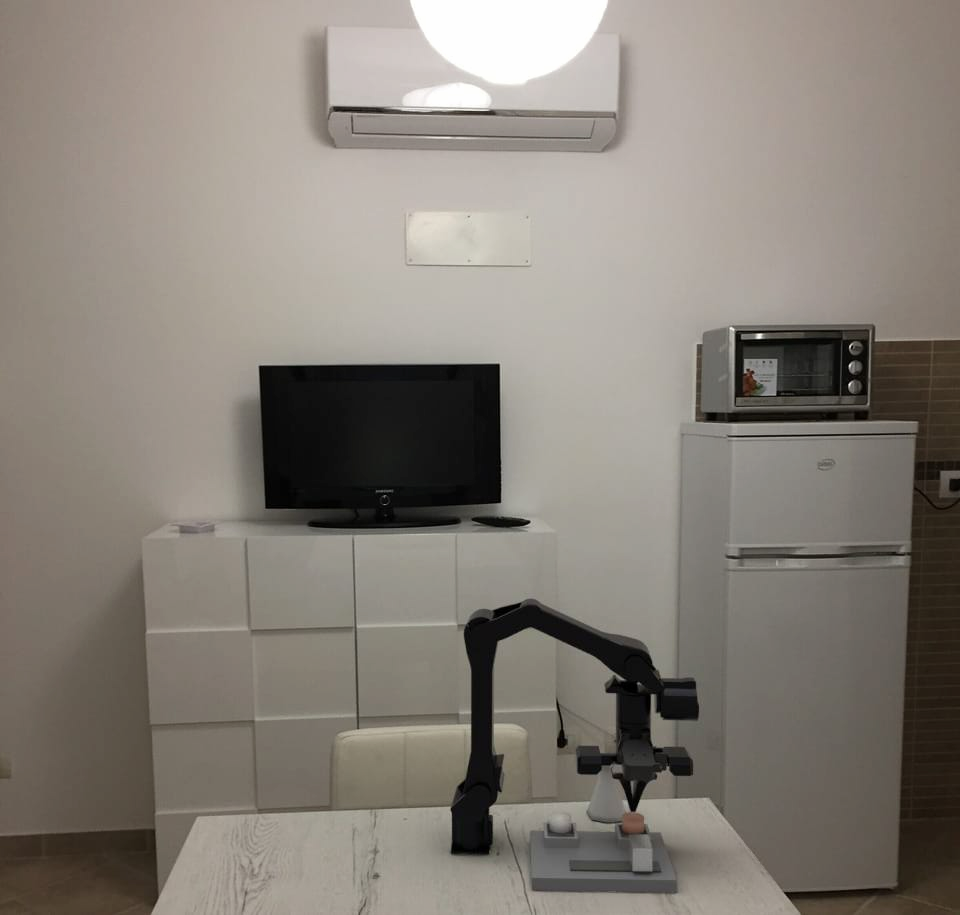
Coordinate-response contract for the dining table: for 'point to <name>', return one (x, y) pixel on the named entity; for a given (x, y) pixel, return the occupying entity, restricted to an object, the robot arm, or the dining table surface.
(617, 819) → the flask
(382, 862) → the dining table surface
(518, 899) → the dining table surface
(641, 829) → the terracotta button
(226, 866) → the dining table surface
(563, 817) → the grey button
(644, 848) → the rough gray brick
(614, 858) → the panel
